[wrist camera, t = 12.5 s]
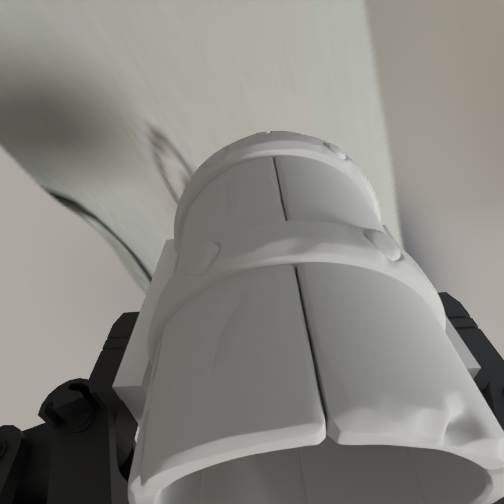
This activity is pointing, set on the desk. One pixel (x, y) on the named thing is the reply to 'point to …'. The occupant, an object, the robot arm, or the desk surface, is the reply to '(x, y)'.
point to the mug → (303, 349)
